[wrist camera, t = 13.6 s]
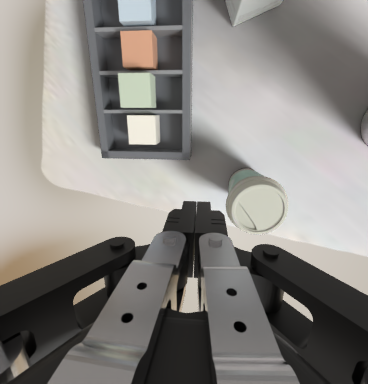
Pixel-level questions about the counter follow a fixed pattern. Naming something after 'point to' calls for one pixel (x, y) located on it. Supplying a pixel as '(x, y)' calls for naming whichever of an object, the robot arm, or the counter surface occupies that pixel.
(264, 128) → the counter surface
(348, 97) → the counter surface
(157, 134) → the cream cube
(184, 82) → the grey compartment tray
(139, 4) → the pale blue cube
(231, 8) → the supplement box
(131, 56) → the orange cube
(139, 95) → the pale green cube
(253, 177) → the coffee cup
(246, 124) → the counter surface
